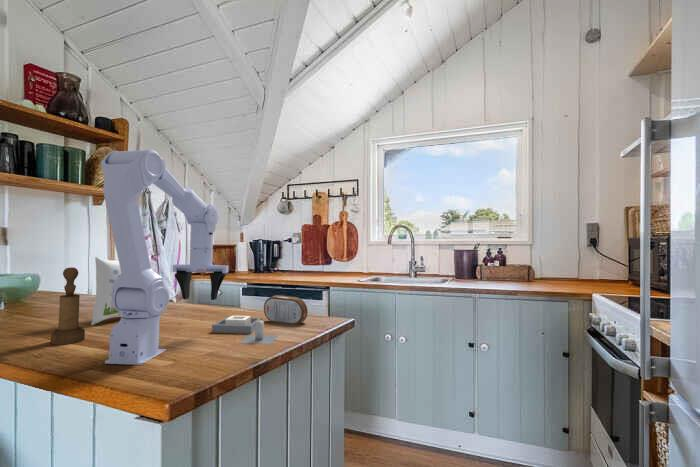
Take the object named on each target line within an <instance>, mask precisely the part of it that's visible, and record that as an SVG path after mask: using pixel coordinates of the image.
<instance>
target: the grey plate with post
mask: <svg viewBox="0 0 700 467" xmlns="http://www.w3.org/2000/svg"><path fill="white" fill-rule="evenodd" d="M264 325H265V321H264V320H263V319H262V320H259V321H256V329H255V331H254V332H255V333H254V334H247V335H246V336H245V337H244V338H242V339H241V340H240V341H239V342H238V344H252V345H254V344H256V345H257V344H258V345H263V344H264V345H272V344H273V343H274V341H275V340H276V339H277V338H278V337H279V335H277V334H274V335H273V334H272V335H271V334H270V335H269V334H264V329H265V328H264Z"/></svg>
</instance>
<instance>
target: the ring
mask: <svg viewBox="0 0 700 467" xmlns="http://www.w3.org/2000/svg"><path fill="white" fill-rule="evenodd" d="M228 317H229V318H227V319H225V325H250V324H251V318H252V316H251V315H231V316H228Z"/></svg>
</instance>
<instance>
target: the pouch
mask: <svg viewBox="0 0 700 467" xmlns="http://www.w3.org/2000/svg"><path fill="white" fill-rule="evenodd" d="M148 255H149V260H150V263H151V261H152V255H151V254H148ZM94 259H95V283H96V284H95V285H96V286H95V288H96V289H95V298H94V302H93V303H94V304H93V313H92V318H91V324H90V325H91V326H94V325H96V324H98V323H100V322H102V321H105V320H108V319H111V318H115V317H118V316H119V311H117V310H116V309H115V307H114V305H113V294H114V288H113V283H114V282H115V280H116V279H118V278H119V277H120V276H121V275H122V273H121V269H120V264H119V260H118V259H114V260H113V259H112V260H110V259H104V258H101V257H99V256H95V258H94ZM119 317H120V316H119Z"/></svg>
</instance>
